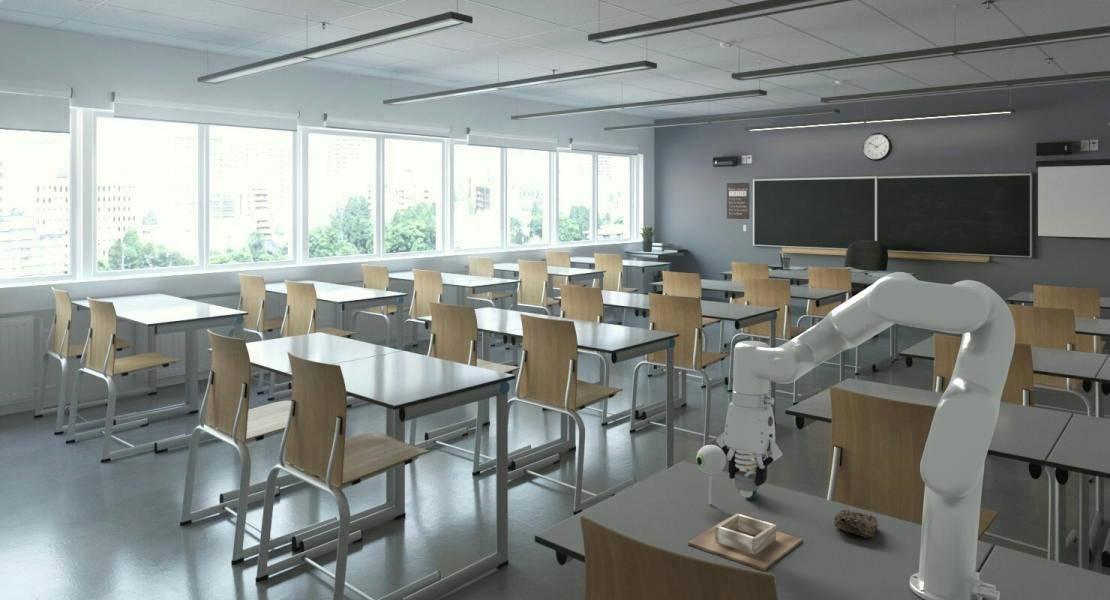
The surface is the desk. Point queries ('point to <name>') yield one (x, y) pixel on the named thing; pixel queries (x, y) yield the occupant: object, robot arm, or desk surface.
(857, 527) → the concrete sample
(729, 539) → the wooden box on board
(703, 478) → the desk surface
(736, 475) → the light bulb
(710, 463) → the lollipop
